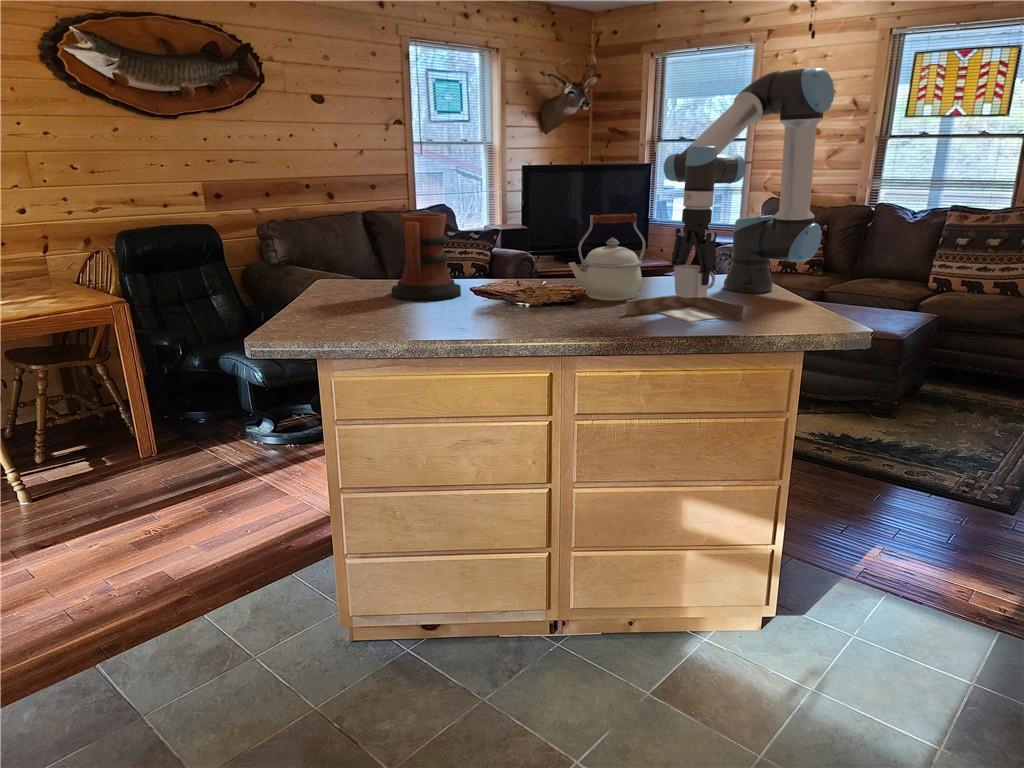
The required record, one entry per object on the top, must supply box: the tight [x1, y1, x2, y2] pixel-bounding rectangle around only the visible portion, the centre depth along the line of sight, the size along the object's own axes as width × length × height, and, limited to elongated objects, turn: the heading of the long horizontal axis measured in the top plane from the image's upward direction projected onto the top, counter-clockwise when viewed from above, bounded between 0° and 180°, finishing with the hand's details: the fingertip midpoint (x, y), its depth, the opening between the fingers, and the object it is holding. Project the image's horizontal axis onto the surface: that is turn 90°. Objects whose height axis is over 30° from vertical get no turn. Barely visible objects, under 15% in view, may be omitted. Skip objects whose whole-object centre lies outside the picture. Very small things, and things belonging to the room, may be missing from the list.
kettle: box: [568, 212, 647, 302], centre depth 222 cm, size 25×18×25 cm
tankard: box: [391, 212, 462, 303], centre depth 224 cm, size 22×25×25 cm
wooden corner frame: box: [625, 294, 745, 323], centre depth 197 cm, size 23×20×4 cm
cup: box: [673, 264, 716, 298], centre depth 196 cm, size 11×8×8 cm
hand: (690, 294), depth 198 cm, fingers closed on cup, 8 cm apart
